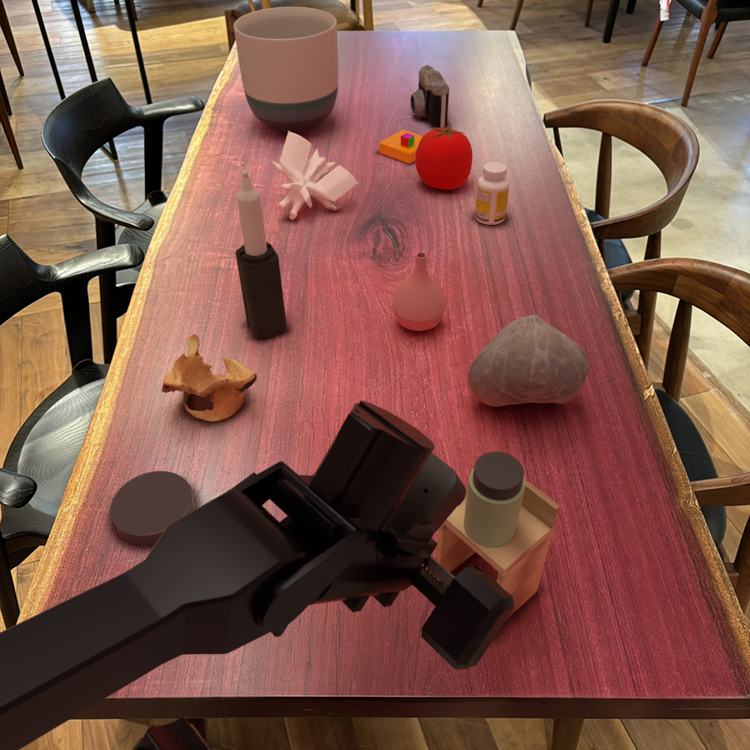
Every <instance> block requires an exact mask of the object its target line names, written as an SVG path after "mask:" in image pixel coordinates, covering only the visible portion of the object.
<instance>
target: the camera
mask: <svg viewBox="0 0 750 750" xmlns="http://www.w3.org/2000/svg"><path fill="white" fill-rule="evenodd" d="M417 88H418V89H416V90H415V91H414V92H413V93H411V94H410V109H411V112H412V114H413V115H415V116H417V117H419V118H422V119H426V120H427V122H428V123H429V124H430V126H431V128H432V129H436V128H448V115H449V98H450V86H449V85H448V83H447V82H446V80H445V78H444V77H443V76H442V74H441V72H440V71H438V70H436V69H434V67H433V66H431V65H429V64H426V65H423V66H421V67H420V69H419V70H418V87H417Z"/></svg>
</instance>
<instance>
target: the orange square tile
mask: <svg viewBox="0 0 750 750" xmlns="http://www.w3.org/2000/svg"><path fill="white" fill-rule="evenodd" d="M423 136H424V135H421V134H418V133H414V132H412V131H409V130H406V129H401V130H399V131H398V132H396V133H394V134H392V135H390V136H388V137H387V138H385V139H383V140H382V141H380V142H378V143H379V144H378V152H379V154H382V155H384V156H387V157H390V158H392V159H394V160H395V159H396V160H398V161H401V162H403V163H405V164H409V165H411V164H412V163H415V154H416V150H417V147H418V145H419V142H420V140H421V139H422V137H423Z"/></svg>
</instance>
